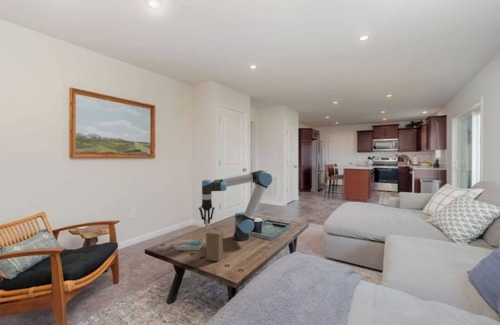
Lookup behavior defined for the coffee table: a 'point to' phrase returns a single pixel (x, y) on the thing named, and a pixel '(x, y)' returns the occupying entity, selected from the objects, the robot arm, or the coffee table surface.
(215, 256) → the wooden block
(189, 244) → the chute
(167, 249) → the mat
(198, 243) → the teal block
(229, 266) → the coffee table surface
